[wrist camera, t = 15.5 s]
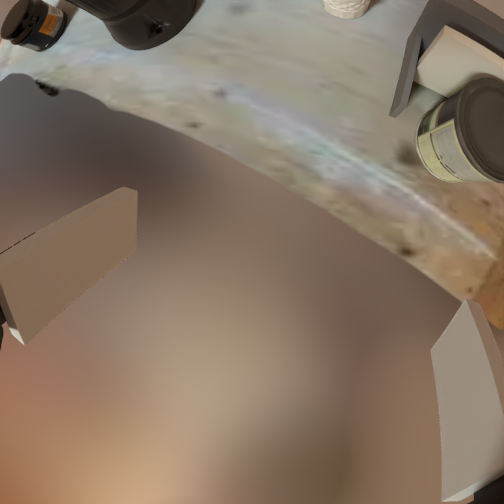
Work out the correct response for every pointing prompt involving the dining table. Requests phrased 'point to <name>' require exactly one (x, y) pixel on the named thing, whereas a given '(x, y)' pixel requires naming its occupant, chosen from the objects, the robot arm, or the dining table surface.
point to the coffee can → (465, 135)
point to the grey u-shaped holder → (428, 27)
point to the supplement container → (33, 24)
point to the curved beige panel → (456, 63)
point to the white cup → (346, 8)
